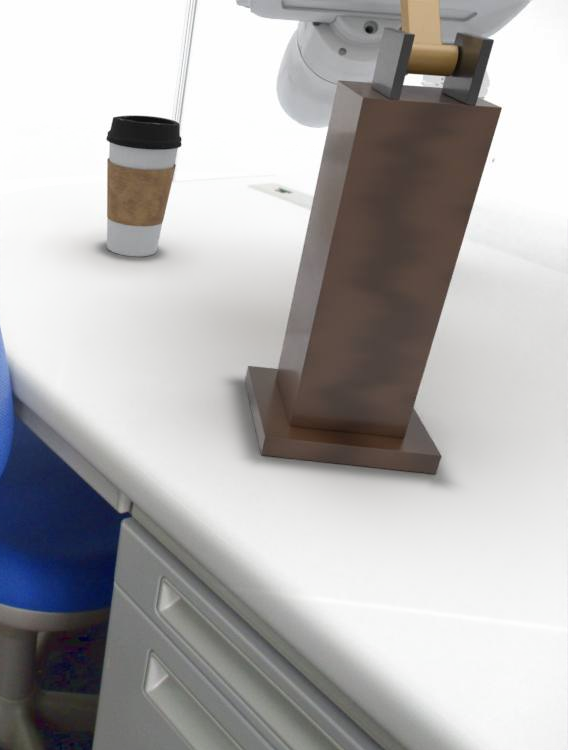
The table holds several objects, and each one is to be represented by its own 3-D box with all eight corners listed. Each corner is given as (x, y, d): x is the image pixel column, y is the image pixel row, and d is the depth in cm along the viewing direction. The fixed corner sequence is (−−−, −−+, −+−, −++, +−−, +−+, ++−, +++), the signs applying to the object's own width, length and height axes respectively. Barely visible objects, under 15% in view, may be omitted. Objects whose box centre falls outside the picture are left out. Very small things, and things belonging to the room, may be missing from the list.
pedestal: (393, 397, 71) (496, 30, 58) (436, 474, 60) (573, 47, 48) (244, 381, 72) (313, 18, 59) (261, 455, 61) (349, 32, 49)
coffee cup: (86, 252, 101) (98, 118, 94) (108, 234, 108) (120, 107, 101) (157, 264, 98) (175, 127, 91) (174, 245, 105) (192, 116, 98)
